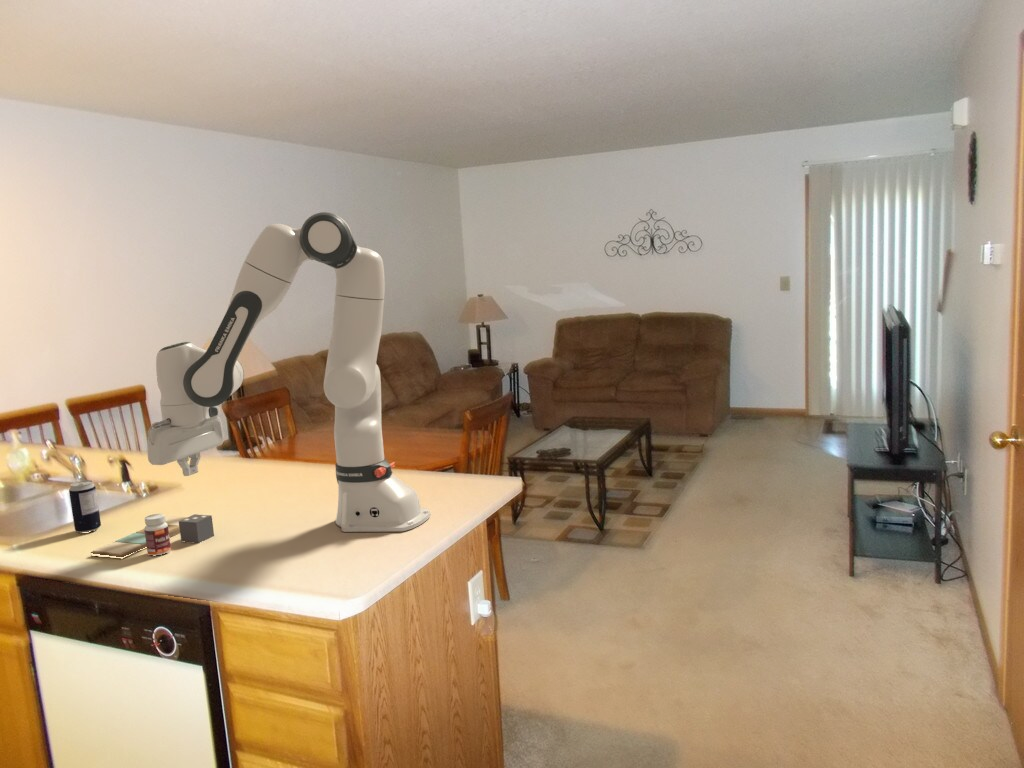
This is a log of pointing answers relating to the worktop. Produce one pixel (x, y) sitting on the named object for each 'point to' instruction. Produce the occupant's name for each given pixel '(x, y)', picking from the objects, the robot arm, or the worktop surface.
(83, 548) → the worktop surface
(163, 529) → the pill bottle
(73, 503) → the beverage can
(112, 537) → the worktop surface
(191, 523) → the die
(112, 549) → the board
